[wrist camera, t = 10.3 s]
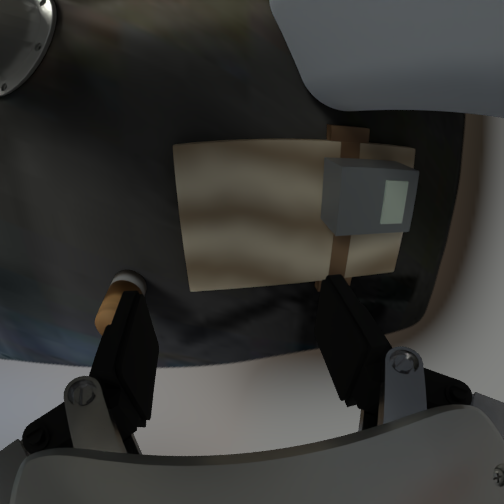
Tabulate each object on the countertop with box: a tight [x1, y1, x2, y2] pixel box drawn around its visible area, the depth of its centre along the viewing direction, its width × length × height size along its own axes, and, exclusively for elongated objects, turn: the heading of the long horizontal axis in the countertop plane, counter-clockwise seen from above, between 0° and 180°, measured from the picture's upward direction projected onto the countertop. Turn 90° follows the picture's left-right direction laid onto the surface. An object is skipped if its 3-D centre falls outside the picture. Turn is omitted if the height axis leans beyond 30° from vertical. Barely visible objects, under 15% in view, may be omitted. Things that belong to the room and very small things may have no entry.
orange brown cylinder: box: [95, 270, 147, 335], centre depth 27 cm, size 4×4×7 cm
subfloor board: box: [173, 124, 415, 292], centre depth 28 cm, size 18×24×1 cm
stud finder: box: [320, 157, 419, 236], centre depth 24 cm, size 6×8×4 cm
